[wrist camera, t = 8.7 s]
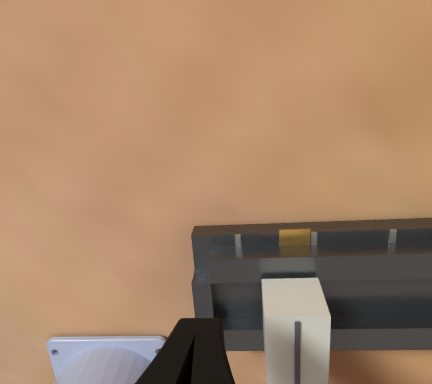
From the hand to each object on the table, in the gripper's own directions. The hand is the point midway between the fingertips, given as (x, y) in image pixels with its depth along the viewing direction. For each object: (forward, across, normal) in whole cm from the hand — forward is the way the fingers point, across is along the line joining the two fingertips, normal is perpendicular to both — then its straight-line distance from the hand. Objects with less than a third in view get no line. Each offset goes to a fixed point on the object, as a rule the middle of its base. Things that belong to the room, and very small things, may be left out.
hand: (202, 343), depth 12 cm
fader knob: (+8, -3, +4) cm, 10 cm away
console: (+10, -9, +4) cm, 14 cm away
